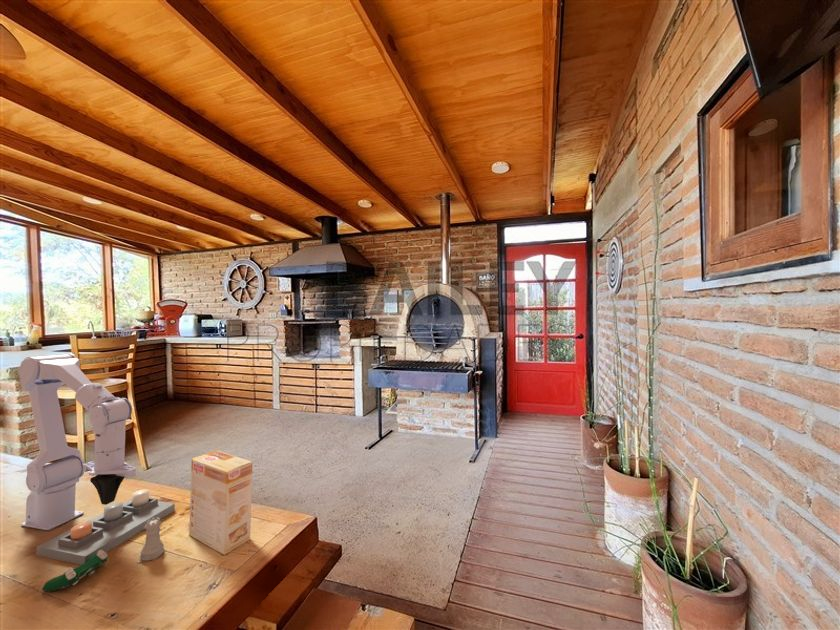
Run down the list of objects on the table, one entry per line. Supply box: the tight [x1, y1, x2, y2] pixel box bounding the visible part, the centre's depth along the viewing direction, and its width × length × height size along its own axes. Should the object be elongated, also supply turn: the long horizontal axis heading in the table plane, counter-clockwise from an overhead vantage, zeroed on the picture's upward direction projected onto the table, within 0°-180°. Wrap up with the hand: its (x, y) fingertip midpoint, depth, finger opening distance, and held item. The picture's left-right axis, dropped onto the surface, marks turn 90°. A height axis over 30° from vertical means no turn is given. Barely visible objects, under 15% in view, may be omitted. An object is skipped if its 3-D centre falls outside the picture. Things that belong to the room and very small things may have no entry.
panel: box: [35, 496, 176, 566], centre depth 87 cm, size 14×22×4 cm, turn 169°
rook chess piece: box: [139, 517, 165, 562], centre depth 79 cm, size 4×4×8 cm
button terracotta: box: [70, 521, 92, 541], centre depth 80 cm, size 4×4×3 cm
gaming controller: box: [41, 550, 109, 592], centre depth 72 cm, size 9×4×6 cm
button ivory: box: [131, 489, 150, 507], centre depth 94 cm, size 4×4×3 cm
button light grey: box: [103, 502, 124, 522], centre depth 87 cm, size 4×4×3 cm
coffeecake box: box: [188, 450, 254, 556], centre depth 86 cm, size 15×7×20 cm, turn 62°
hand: (108, 502), depth 86 cm, fingers closed
